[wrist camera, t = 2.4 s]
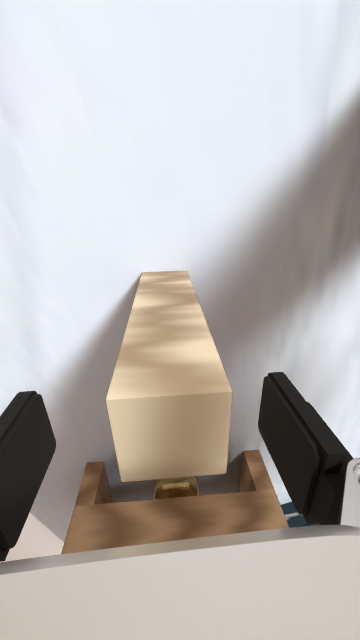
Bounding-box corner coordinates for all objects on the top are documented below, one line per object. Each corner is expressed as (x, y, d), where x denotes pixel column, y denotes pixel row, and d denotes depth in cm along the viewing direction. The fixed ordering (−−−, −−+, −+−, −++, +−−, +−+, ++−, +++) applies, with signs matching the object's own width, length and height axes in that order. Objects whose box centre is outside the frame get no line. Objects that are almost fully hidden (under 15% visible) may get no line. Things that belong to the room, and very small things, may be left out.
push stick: (237, 268, 23) (368, 382, 8) (225, 445, 32) (276, 642, 18) (90, 274, 22) (-45, 409, 8) (121, 452, 32) (88, 663, 17)
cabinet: (263, 446, 33) (311, 564, 22) (254, 502, 38) (290, 620, 27) (82, 460, 32) (41, 590, 21) (97, 515, 37) (71, 644, 26)
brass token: (197, 468, 34) (199, 486, 32) (197, 495, 37) (199, 514, 35) (152, 472, 34) (152, 490, 32) (155, 499, 36) (155, 518, 34)
